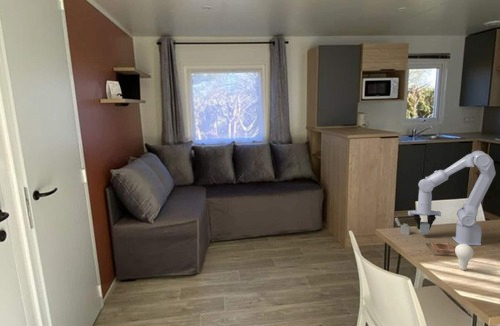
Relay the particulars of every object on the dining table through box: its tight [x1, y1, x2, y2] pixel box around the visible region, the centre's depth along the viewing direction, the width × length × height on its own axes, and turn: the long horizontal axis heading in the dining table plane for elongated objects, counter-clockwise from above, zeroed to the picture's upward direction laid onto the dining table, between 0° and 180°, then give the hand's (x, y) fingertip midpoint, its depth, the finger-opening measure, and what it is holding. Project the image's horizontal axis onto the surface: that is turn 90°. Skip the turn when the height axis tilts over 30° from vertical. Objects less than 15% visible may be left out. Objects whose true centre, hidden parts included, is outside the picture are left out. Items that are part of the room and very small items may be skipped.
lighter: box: [394, 217, 411, 236], centre depth 160 cm, size 7×2×8 cm, turn 55°
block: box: [417, 221, 431, 234], centre depth 154 cm, size 4×4×4 cm
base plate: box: [425, 242, 458, 258], centre depth 140 cm, size 11×11×2 cm
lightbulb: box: [455, 244, 475, 271], centre depth 122 cm, size 6×6×11 cm
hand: (423, 228), depth 154 cm, fingers closed on block, 4 cm apart
